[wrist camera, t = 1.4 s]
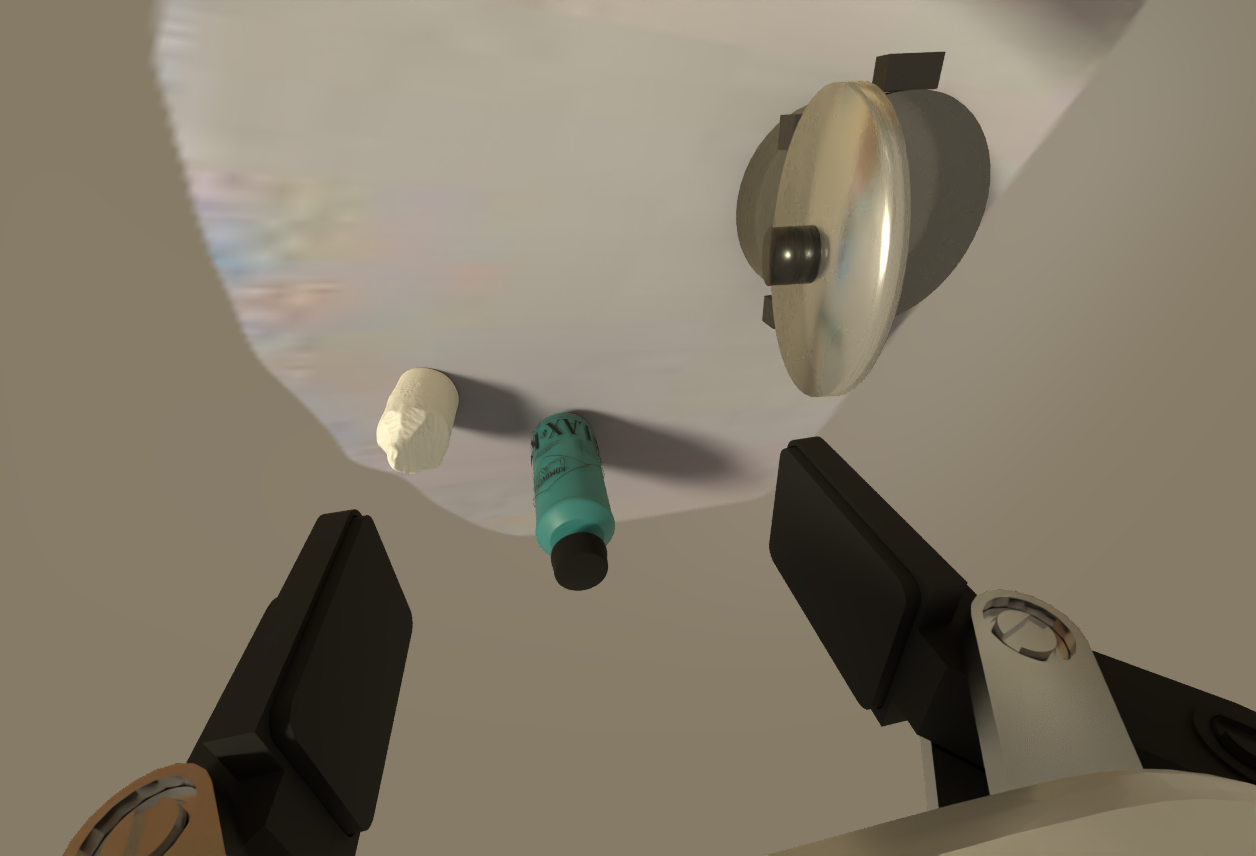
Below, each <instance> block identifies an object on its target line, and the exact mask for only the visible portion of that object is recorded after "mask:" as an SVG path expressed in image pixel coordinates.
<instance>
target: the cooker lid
mask: <svg viewBox="0 0 1256 856" xmlns="http://www.w3.org/2000/svg"><path fill="white" fill-rule="evenodd" d="M910 218H911V190H910V176H909V164H908V157H907V151H906V145H905V140H904V136H903V132H902V129H901V125H900V122H899V119H898V116H897V114H896V112H895V110H894V107H893V105H892V103H891V102H890V100H889V99H888V97H887V96H886V94H885V93H884V92H883V91H882V90H881V89H880V88H879V87H878V86H877V85H875V84H873V83H871V82H868V81H850V82H834V83H831V84H829V85H826V86H825V87H823V88H822V89H821V90H820V91H818V92H817V94H816V95H815V96H814V97H813V98H812V100H811V101H810V102H809V104H808V106H807V107H806V109H805V110H804V112H803V114H802V116H801V118H800V120H799V122H798V125H797V127H796V129H795V132H794V134H793V137H792V140H791V143H790V146H789V149H788V152H787V156H786V159H785V163H784V167H783V171H782V175H781V180H780V185H779V190H778V195H777V202H776V208H775V216H774V225H773V227H770V228H768V230H767V231H766V234H765V237H764V242H763V248H762V272H763V278H764V281H765V283H766V285H767V286H771V291H772V306H773V315H774V323H775V329H776V335H777V340H778V344H779V348H780V352H781V356H782V359H783V361H784V364H785V367H786V369H787V371H788V374H789V376H790V377H791V379H792V381H793V382H794V384H795V385H796V386H797V388H798V389H799V390H800V391H802V392H803V393H804V394H806V395H808V396H811V397H828V396H840V395H843V394H847V393H848V392H850V391H852V390H853V389H855V388H856V387H857V386H858V385H859V384H860V383H861V382H862V381H863V380H864V379H865V377H866V376H867V375H868V373H869V372H870V371H871V369H872V368H873V366H874V364H875V362H876V361H877V359H878V357H879V355H880V353H881V351H882V349H883V347H884V344H885V342H886V340H887V338H888V335H889V332H890V329H891V326H892V323H893V320H894V317H895V314H896V310H897V306H898V302H899V299H900V295H901V290H902V285H903V280H904V275H905V269H906V262H907V254H908V246H909V234H910Z"/></svg>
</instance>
